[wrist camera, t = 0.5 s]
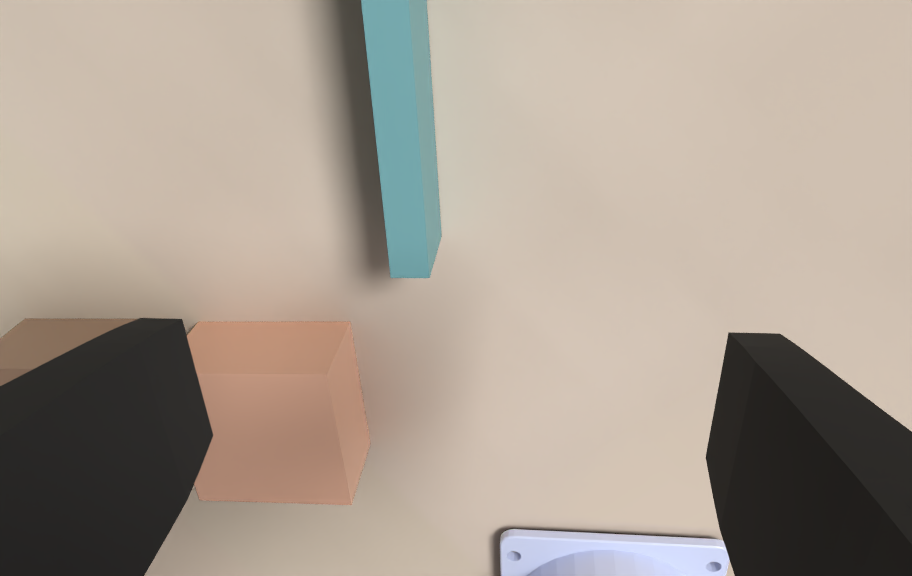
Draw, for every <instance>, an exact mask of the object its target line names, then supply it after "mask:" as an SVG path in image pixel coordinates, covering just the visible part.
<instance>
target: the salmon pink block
mask: <svg viewBox="0 0 912 576" xmlns="http://www.w3.org/2000/svg"><path fill="white" fill-rule="evenodd" d="M187 339H188V343H189V347H190V350H191V354H192V358H193V362H194V365H195V369H196V373H197V376H198V380H199V384H200V387H201V391H202V395H203V399H204V402H205V406H206V410H207V413H208V417H209V421H210V425H211V428H212V432H213V438H212V440H211V443H210V445H209V448H208V451H207V453H206V456H205V458H204V461H203V464H202V466H201V469H200V471H199V474H198V476H197V478H196V481H195V483H194V485H195V488H196V491H197V494H198V497H199V500H208V501H240V502H272V503H304V504H336V505H352V503H353V499H354V496H355V493H356V490H357V486H358V483H359V480H360V476H361V473H362V470H363V467H364V463H365V460H366V457H367V454H368V450H369V447H370V438H369V432H368V426H367V420H366V414H365V408H364V402H363V396H362V389H361V383H360V377H359V371H358V365H357V359H356V353H355V347H354V341H353V335H352V329H351V323H350V322H198V323H197V324H196V325H195V326H194V328H193V329H192V330H191V331H190V333H189V334H188V335H187Z"/></svg>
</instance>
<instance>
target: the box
mask: <svg viewBox="0 0 912 576" xmlns="http://www.w3.org/2000/svg"><path fill="white" fill-rule="evenodd" d="M361 4H362V14H363V23H364V32H365V42H366V51H367V61H368V70H369V79H370V89H371V98H372V107H373V117H374V126H375V136H376V145H377V154H378V164H379V173H380V182H381V192H382V201H383V211H384V220H385V229H386V239H387V248H388V257H389V267H390V276H391V278H430V275H431V271H432V268H433V264H434V261H435V257H436V254H437V250H438V247H439V243H440V240H441V221H440V205H439V189H438V173H437V157H436V141H435V126H434V110H433V94H432V78H431V62H430V47H429V31H428V15H427V0H361Z"/></svg>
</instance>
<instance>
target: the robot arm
mask: <svg viewBox="0 0 912 576" xmlns="http://www.w3.org/2000/svg"><path fill="white" fill-rule="evenodd" d="M212 438H213V432H212V428H211V425H210V421H209V417H208V413H207V410H206V406H205V402H204V399H203V395H202V391H201V387H200V384H199V380H198V376H197V373H196V369H195V365H194V362H193V358H192V354H191V350H190V347H189V343H188V339H187V336H186V332H185V328H184V324H183V321H182V319H155V318H139V319H137V320H134V321H132V322H129V323H126V324H124V325H122V326H119V327H117V328H115V329H113V330H110V331H108V332H106V333H104V334H102V335H100V336H98V337H96V338H94V339H92V340H90V341H87V342H85V343H83V344H81V345H80V346H78V347H76V348H74V349H72V350H70V351H68V352H66V353H64V354H62V355H60V356H58V357H56V358H54V359H52V360H50V361H48V362H46V363H44V364H42V365H40V366H38V367H37V368H35V369H33V370H31V371H29V372H27V373H25V374H23V375H21V376H19V377H17V378H15V379H13V380H11V381H9V382H7V383H5V384H4V385H2V386H0V576H144V575H145V573H146V571H147V569H148V568H149V566H150V564H151V563H152V561H153V559H154V558H155V556H156V554H157V552H158V551H159V549H160V547H161V545H162V544H163V542H164V540H165V538H166V537H167V535H168V533H169V531H170V530H171V528H172V526H173V524H174V523H175V521H176V519H177V517H178V516H179V514H180V512H181V510H182V508H183V507H184V505H185V503H186V501H187V499H188V497H189V494H190V492H191V490H192V488H193V485H194V483H195V481H196V478H197V476H198V474H199V471H200V469H201V466H202V464H203V461H204V458H205V456H206V453H207V451H208V448H209V445H210V443H211V440H212ZM706 461H707V466H708V472H709V477H710V482H711V488H712V493H713V498H714V503H715V508H716V513H717V518H718V522H719V527H720V531H721V534H722V537H723V541H724V542H723V541H722V540H718V539H707V538H686V537H666V536H645V535H625V534H604V533H584V532H563V531H543V530H522V529H510V530H507V531H504V532H503V533H502V534H501V537H500V570H501V576H726V574H727V569H728V564H729V560H730V562H731V565H732V568H733V571H734V574H735V576H912V432H911V431H910V430H909V429H907V428H906V427H905V426H903V425H902V424H901V423H899V422H898V421H896V420H895V419H894V418H892V417H891V416H890V415H888V414H887V413H886V412H884V411H883V410H882V409H880V408H879V407H878V406H876V405H875V404H874V403H872V402H871V401H870V400H868V399H867V398H866V397H864V396H863V395H862V394H861V393H859V392H858V391H857V390H855V389H854V388H853V387H851V386H850V385H849V384H847V383H846V382H845V381H844V380H842V379H841V378H840V377H838V376H837V375H836V374H834V373H833V372H832V371H830V370H829V369H828V368H827V367H825V366H824V365H823V364H821V363H820V362H819V361H817V360H816V359H815V358H813V357H812V356H811V355H809V354H808V353H807V352H805V351H804V350H803V349H801V348H800V347H799V346H797V345H796V344H794V343H793V342H791V341H790V340H788V339H787V338H785V337H784V336H782V335H781V334H767V333H729V334H728V339H727V345H726V350H725V355H724V361H723V366H722V372H721V377H720V383H719V388H718V393H717V399H716V404H715V410H714V415H713V421H712V426H711V431H710V437H709V442H708V448H707V453H706ZM511 551H516V552H511Z"/></svg>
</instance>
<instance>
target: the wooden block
mask: <svg viewBox="0 0 912 576" xmlns="http://www.w3.org/2000/svg"><path fill="white" fill-rule="evenodd" d="M134 320H137V319H24V320H23V321H22V322H20V323H19V324H18V325H17V326H15V327H14V328H13V329H12V330H10V331H9V332H8V333H7V334H5V335H4V336H3V337H2V338H0V386H2V385H4V384H5V383H7V382H9V381H11V380H13V379H15V378H17V377H19V376H21V375H23V374H25V373H27V372H29V371H31V370H33V369H35V368H37V367H38V366H40V365H42V364H44V363H46V362H48V361H50V360H52V359H54V358H56V357H58V356H60V355H62V354H64V353H66V352H68V351H70V350H72V349H74V348H76V347H78V346H80V345H81V344H83V343H85V342H87V341H90V340H92V339H94V338H96V337H98V336H100V335H102V334H104V333H106V332H108V331H110V330H113V329H115V328H117V327H119V326H122V325H124V324H126V323H129V322H132V321H134Z"/></svg>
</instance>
